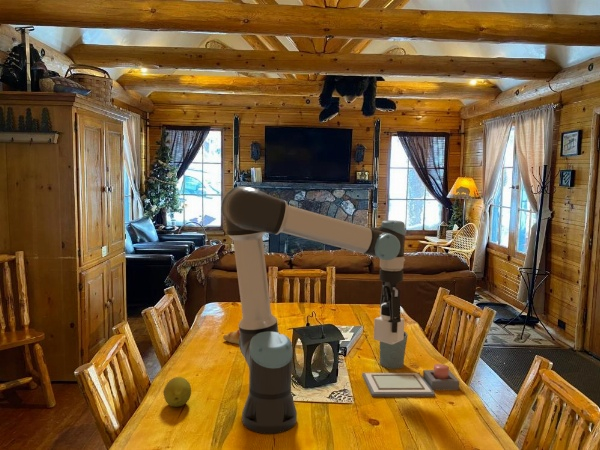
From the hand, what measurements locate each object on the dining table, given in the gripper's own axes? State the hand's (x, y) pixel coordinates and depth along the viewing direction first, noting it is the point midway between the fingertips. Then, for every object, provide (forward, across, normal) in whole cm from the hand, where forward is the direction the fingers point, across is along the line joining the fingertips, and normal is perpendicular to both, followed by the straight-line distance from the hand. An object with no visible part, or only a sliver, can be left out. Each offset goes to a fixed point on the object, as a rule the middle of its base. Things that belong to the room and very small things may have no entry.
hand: (388, 336), depth 158 cm
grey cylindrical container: (+17, +18, -6) cm, 25 cm away
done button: (+15, +1, -18) cm, 24 cm away
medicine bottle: (+1, 0, 0) cm, 1 cm away
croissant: (+17, +42, +47) cm, 65 cm away
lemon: (+17, -13, +66) cm, 69 cm away
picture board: (+17, 0, -3) cm, 17 cm away
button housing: (+17, +1, -18) cm, 25 cm away
